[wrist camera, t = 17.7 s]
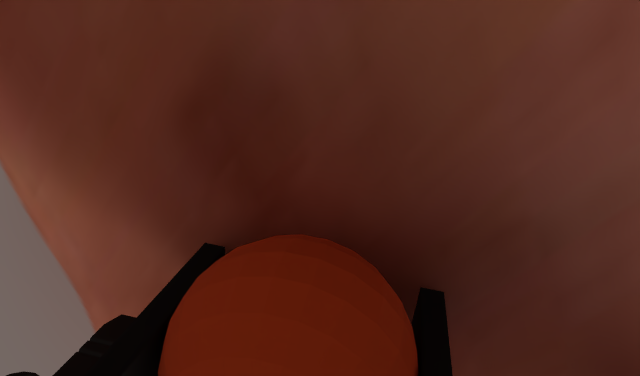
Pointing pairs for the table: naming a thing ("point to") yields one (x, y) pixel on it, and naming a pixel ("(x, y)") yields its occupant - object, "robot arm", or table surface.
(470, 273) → the table surface
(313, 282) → the clementine
